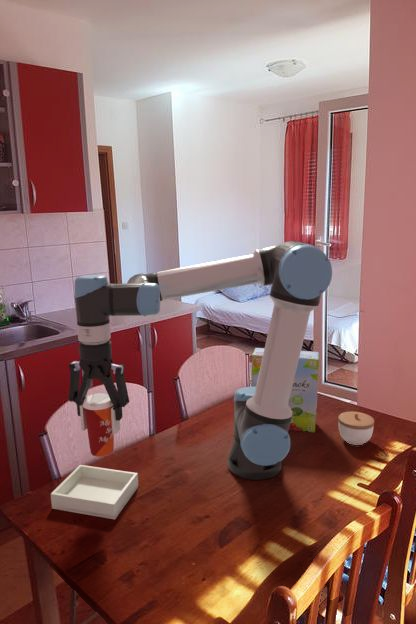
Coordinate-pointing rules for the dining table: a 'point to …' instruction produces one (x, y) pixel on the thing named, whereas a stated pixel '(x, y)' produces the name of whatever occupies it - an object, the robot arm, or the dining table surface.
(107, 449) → the paper cup
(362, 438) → the lidded jar
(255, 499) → the dining table surface
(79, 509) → the tray
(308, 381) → the snack box
